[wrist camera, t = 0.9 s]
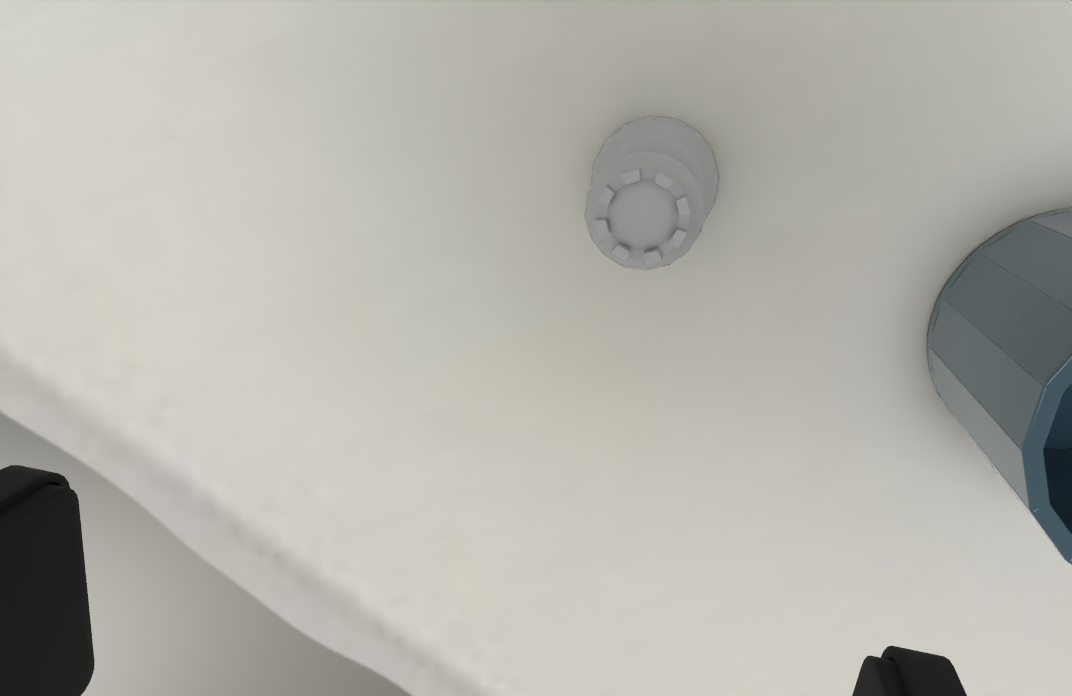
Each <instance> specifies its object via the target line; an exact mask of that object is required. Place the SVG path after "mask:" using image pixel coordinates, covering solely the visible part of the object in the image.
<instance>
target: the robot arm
mask: <svg viewBox="0 0 1072 696" xmlns="http://www.w3.org/2000/svg"><path fill="white" fill-rule="evenodd" d="M93 670H94V654H93V644H92V633H91V624H90V614H89V603H88V593H87V583H86V573H85V562H84V552H83V542H82V532H81V522H80V512H79V501H78V498H77V494H76V493H75V492H74V490H72V489H70V486H69V482H68V481H67V480H66V478H65V477H64V476H62V475H60V474H58V473H53V472H48V471H44V470H39V469H34V468H29V467H25V466H20V465H15V466H14V465H12V466H9V467H6V468H4V469H1V470H0V696H81V694H82V693H83V692H84V691H85V689H86V687H87V686H88V684H89V682H90V680H91V677H92V674H93ZM852 696H967V695H966V693H965V691H964V688H963V686H962V684H961V682H960V680H959V677H958V675H957V673H956V671H955V669H954V666H953V665H952V663H951V662H950V660H949V659H947V658H946V657H943V656H939V655H934V654H929V653H924V652H919V651H914V650H910V649H905V648H900V647H895V646H889V647H887V648H886V649H885V651H884V652H883V654H882V656H881V658H879V657H874V656H867V657H866V658H865V660H864V662H863V664H862V667H861V670H860V673H859V676H858V679H857V683H856V686H855V689H854V692H853V695H852Z"/></svg>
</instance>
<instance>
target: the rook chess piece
mask: <svg viewBox="0 0 1072 696" xmlns="http://www.w3.org/2000/svg"><path fill="white" fill-rule="evenodd" d="M718 180H719V175H718V171H717V167H716V162H715V158H714V154H713V151H712V150H711V149H710V147H709V146H708V145H707V143H706V142H705V141H704V139H703V138H702V137H701V135H700V134H699V132H697V131H696V130H694V129H692V128H690V127H689V126H687V125H685V124H683V123H682V122H680V121H678V120H676V119H669V118H660V117H647V118H644V119H641V120H637V121H634V122H631V123H627V124H625V125H624V126H623V127H622V128H620V129H619V130H618V131H617V132H615V133H614V134H613V135H612V136H610V137H609V138H608V139H607V140H606V141H605V143H604V145H603V147H602V148H601V150H600V152H599V154H598V156H597V158H596V159H595V161H594V165H593V170H592V178H591V186H590V189H589V191H588V193H587V202H586V210H585V218H586V222H587V226H588V229H589V233H590V236H591V239H592V240H593V241H594V243H595V244H596V245H597V246H598V248H599V249H600V250H601V252H602V253H603V254H604V255H605V256H606V257H608V258H610V259H611V260H613V261H615V262H616V263H618V264H620V265H622V266H623V267H627V268H635V269H642V270H650V269H654V268H658V267H662V266H666V265H670V264H671V263H672V262H674V261H675V260H677V259H678V258H679V257H681V256H682V255H684V254H685V253H686V252H688V251H689V249H690V248H691V246H692V245H693V243H694V241H695V240H696V238H697V237H698V235H699V233H700V232H701V228H702V223H703V221H704V220H705V218H706V217H707V215H708V213H709V212H710V210H711V209H712V207H713V205H714V203H715V197H716V191H717V186H718Z"/></svg>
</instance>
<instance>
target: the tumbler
mask: <svg viewBox="0 0 1072 696" xmlns="http://www.w3.org/2000/svg"><path fill="white" fill-rule="evenodd" d="M927 355H928V365H929V369H930V373H931V377H932V380H933V382H934V385H935V387H936V390H937V393H938V395H939V396H940V398H941V399H942V400H943V402H944V403H945V405H946V406H947V407H948V409H949V410H950V411H951V413H952V414H953V416H954V417H955V418H956V420H957V421H958V422H959V424H960V425H961V427H962V428H963V429H964V431H965V432H966V433H967V434H968V436H969V437H970V438H971V440H972V441H973V442H974V443H975V445H976V446H977V447H978V449H979V450H980V451H981V452H982V454H983V455H984V456H985V458H986V459H987V460H988V462H989V463H990V464H991V465H992V467H993V468H994V469H995V471H996V472H997V473H998V474H999V476H1000V477H1001V478H1002V480H1003V481H1004V482H1005V483H1006V485H1007V486H1008V487H1009V489H1010V490H1011V491H1012V492H1013V494H1014V495H1015V496H1016V498H1017V499H1018V500H1019V501H1020V503H1021V504H1022V505H1023V507H1024V508H1025V509H1026V510H1027V512H1028V513H1029V514H1030V516H1031V517H1032V518H1033V519H1034V521H1035V522H1036V523H1037V525H1038V526H1039V527H1040V528H1041V530H1042V531H1043V532H1044V534H1045V535H1046V536H1047V537H1048V539H1049V540H1050V541H1051V543H1052V544H1053V545H1054V546H1055V548H1056V549H1057V550H1058V552H1059V553H1060V554H1061V556H1062V557H1063V558H1064V559H1065V560H1066V561H1067V562H1068V563H1070V564H1072V207H1071V208H1065V209H1060V210H1054V211H1050V212H1047V213H1043V214H1040V215H1036V216H1033V217H1031V218H1028V219H1026V220H1024V221H1021V222H1019V223H1016V224H1014V225H1012V226H1011V227H1009V228H1007V229H1005V230H1003V231H1001V232H1000V233H998V234H996V235H995V236H993V237H992V238H991V239H989V240H988V241H986V242H985V243H984V244H982V245H981V246H980V247H979V248H978V249H976V250H975V251H974V252H973V253H972V254H971V255H970V256H969V257H967V258H966V260H965V261H964V262H963V263H962V264H961V265H960V266H959V268H958V269H957V270H956V271H955V272H954V274H953V275H952V276H951V278H950V279H949V281H948V282H947V284H946V285H945V287H944V289H943V291H942V293H941V294H940V296H939V298H938V300H937V302H936V305H935V308H934V311H933V314H932V316H931V321H930V325H929V330H928V340H927Z"/></svg>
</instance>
